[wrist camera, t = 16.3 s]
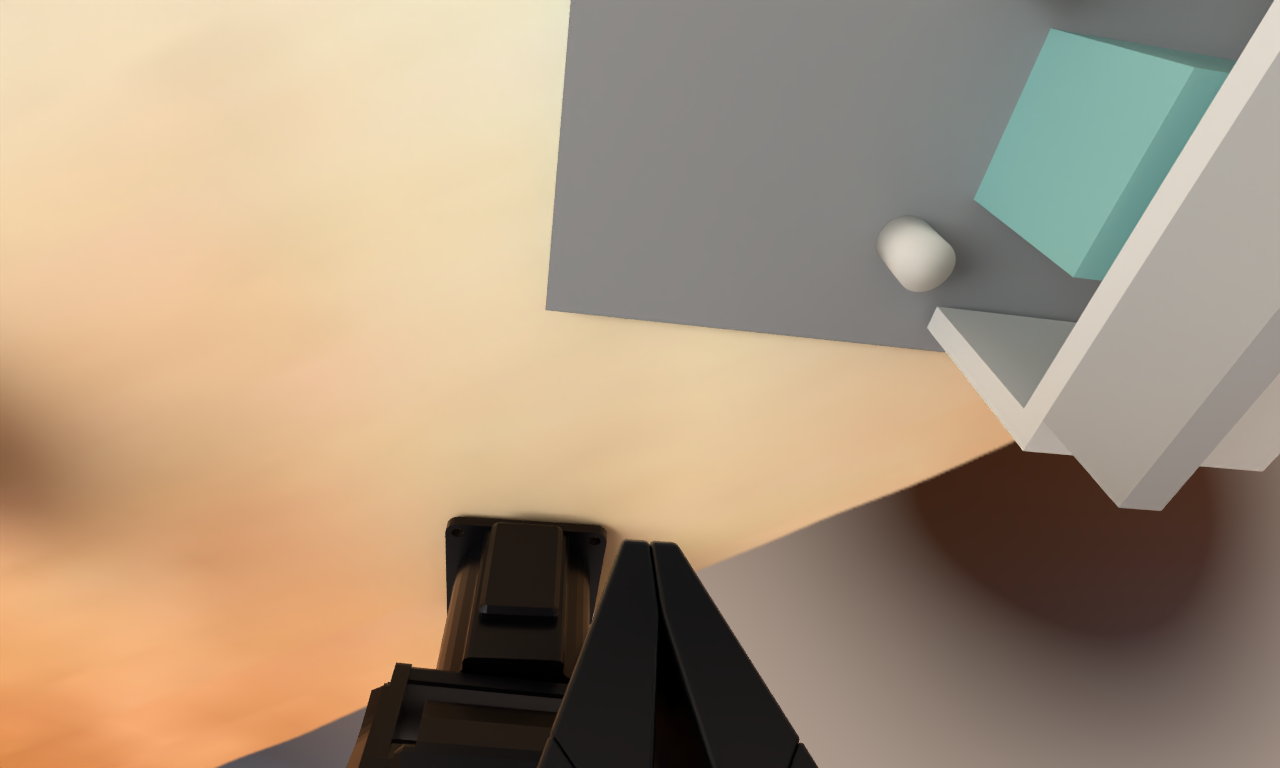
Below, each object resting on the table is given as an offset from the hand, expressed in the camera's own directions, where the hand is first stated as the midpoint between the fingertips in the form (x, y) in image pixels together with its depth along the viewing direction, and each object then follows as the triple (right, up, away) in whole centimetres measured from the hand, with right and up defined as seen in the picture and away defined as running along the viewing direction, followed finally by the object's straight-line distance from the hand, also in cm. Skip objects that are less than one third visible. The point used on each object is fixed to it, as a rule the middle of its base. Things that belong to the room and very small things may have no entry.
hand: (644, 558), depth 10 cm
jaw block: (+13, +10, +8) cm, 18 cm away
